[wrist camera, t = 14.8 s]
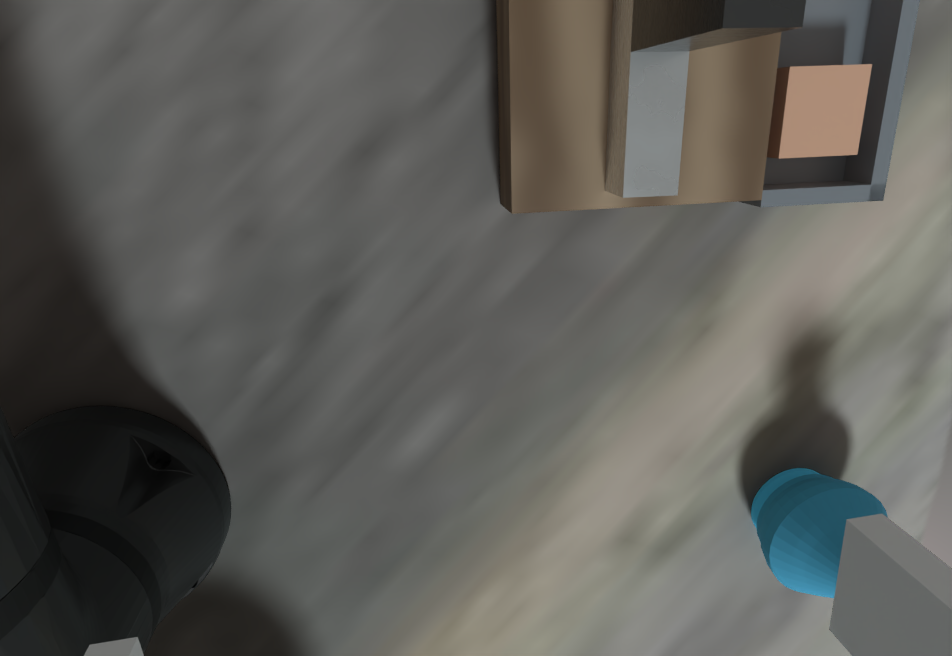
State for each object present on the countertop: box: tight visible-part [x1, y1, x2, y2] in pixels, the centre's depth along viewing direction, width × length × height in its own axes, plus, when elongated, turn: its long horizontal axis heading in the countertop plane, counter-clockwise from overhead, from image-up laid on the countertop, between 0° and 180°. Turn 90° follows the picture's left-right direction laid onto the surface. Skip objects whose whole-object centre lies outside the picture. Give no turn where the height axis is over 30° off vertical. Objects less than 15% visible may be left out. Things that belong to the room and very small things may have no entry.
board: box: [496, 0, 781, 214], centre depth 34 cm, size 15×20×4 cm
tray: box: [739, 0, 920, 207], centre depth 36 cm, size 8×21×4 cm, turn 2°
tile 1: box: [767, 64, 872, 159], centre depth 37 cm, size 5×5×2 cm
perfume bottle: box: [751, 468, 888, 598], centre depth 42 cm, size 9×9×15 cm
